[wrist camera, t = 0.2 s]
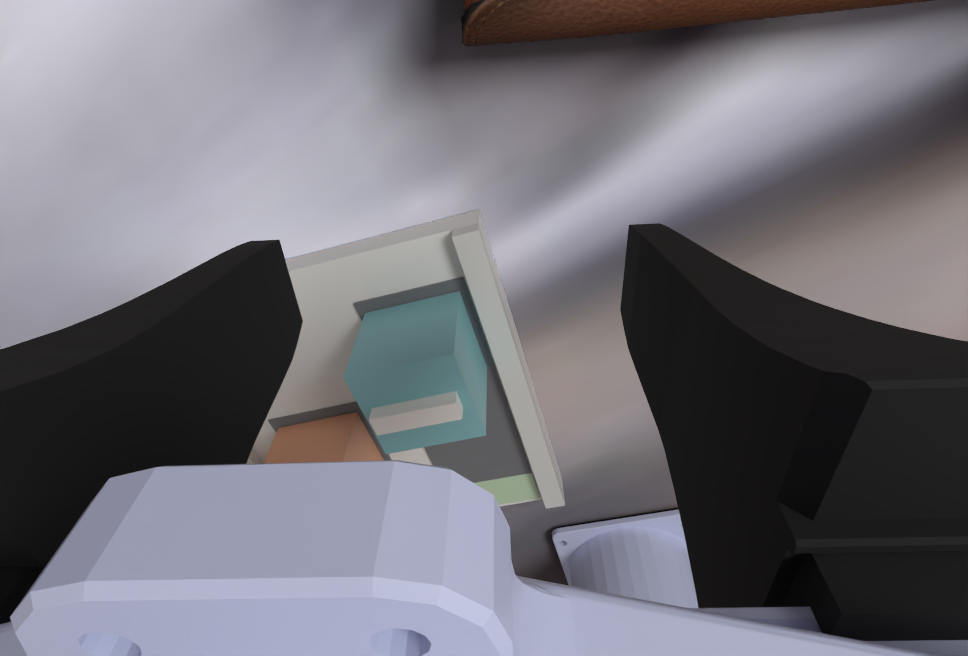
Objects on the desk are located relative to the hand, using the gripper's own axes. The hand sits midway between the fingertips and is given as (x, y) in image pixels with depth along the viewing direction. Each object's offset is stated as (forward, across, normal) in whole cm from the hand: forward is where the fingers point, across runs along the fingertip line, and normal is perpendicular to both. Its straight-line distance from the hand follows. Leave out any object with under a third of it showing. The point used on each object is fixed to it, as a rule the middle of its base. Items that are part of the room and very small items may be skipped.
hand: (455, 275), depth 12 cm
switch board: (+10, +6, +12) cm, 17 cm away
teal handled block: (+9, +2, +8) cm, 12 cm away
